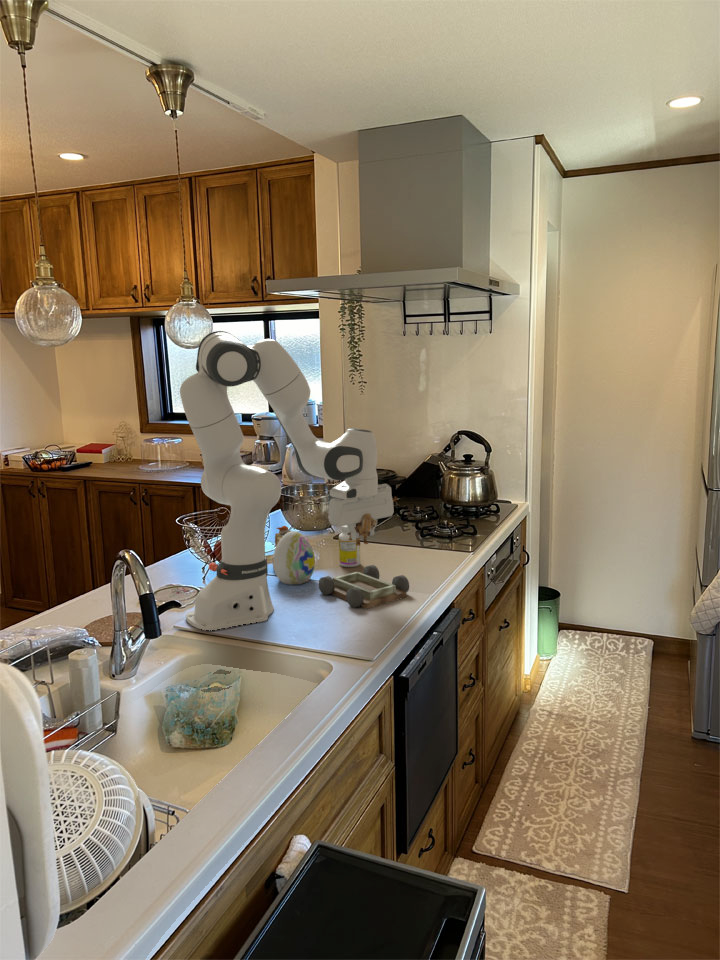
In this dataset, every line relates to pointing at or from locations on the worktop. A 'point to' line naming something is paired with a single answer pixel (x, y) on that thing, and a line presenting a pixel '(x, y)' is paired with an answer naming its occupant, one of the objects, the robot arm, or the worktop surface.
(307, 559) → the decorative egg
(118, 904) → the worktop surface
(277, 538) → the toy helicopter
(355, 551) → the supplement bottle
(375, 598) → the toy car chassis
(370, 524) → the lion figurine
